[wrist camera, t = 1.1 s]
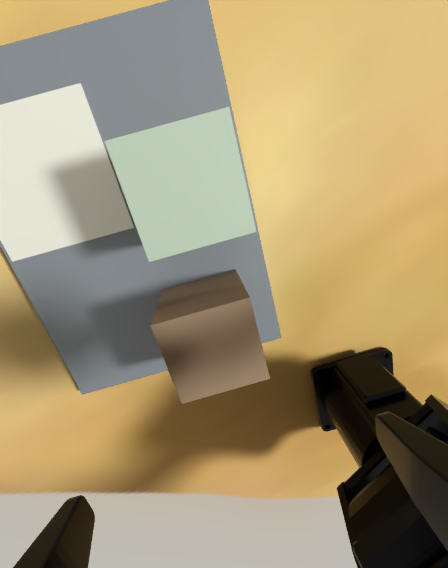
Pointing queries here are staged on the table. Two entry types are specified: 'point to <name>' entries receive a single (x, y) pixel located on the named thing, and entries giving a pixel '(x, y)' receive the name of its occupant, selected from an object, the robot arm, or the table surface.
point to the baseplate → (107, 182)
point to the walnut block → (209, 336)
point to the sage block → (184, 183)
